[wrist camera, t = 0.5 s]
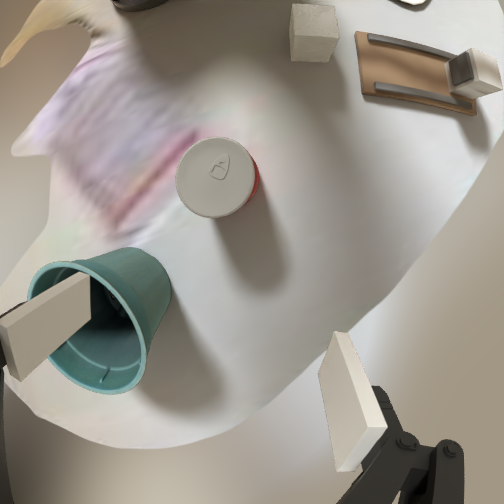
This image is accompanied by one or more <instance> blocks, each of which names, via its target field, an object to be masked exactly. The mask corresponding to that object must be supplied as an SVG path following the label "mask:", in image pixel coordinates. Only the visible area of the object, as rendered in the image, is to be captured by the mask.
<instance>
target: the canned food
mask: <svg viewBox="0 0 504 504" xmlns="http://www.w3.org/2000/svg"><path fill="white" fill-rule="evenodd" d="M258 182H259V171H258V167H257V165H256V163H255V161H254V160H253V158H252V157H251V155H250V154H249V153H248V151H247V150H246V149H245V148H244V147H243V146H242V145H241V144H239V143H238V142H236V141H234V140H232V139H229V138H225V137H209V138H206V139H202V140H200V141H198V142H197V143H195V144H193V145H192V146H191V147H190V148H189V149H188V150H187V151H186V152H185V153H184V155H183V156H182V158H181V160H180V162H179V164H178V167H177V171H176V188H177V192H178V194H179V197H180V199H181V201H182V202H183V203H184V205H185V206H186V207H187V208H188V209H189V210H190V211H192V212H193V213H195V214H197V215H199V216H202V217H207V218H221V217H224V216H228V215H230V214H232V213H234V212H235V211H237V210H238V209H240V208H241V207H242V206H243V205H244V204H246V203H247V202H248V201H249V200H250V199H251V197H252V196H253V195H254V193H255V192H256V189H257V187H258Z"/></svg>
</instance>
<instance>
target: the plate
mask: <svg viewBox="0 0 504 504" xmlns="http://www.w3.org/2000/svg"><path fill="white" fill-rule="evenodd" d="M400 1H402V2H405V3H408V4H411V5H418V4H423V3H424V2H425V0H400Z"/></svg>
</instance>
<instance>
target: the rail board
mask: <svg viewBox="0 0 504 504" xmlns="http://www.w3.org/2000/svg"><path fill="white" fill-rule="evenodd" d="M354 36H355V42H356V49H357V56H358V64H359V72H360V81H361V91H362V94H366V95H374V96H381V97H388V98H395V99H401V100H407V101H412V102H417V103H422V104H427V105H432V106H436V107H441V108H445V109H449V110H453V111H457V112H461V113H464V114H468V115H471V116H474V115H477V112H476V105H475V98H479V97H482V96H485V95H488V94H491V93H494V92H497V91H501V90H503V87H502V82H501V77H500V73H499V68H498V64H497V60H496V58H494V57H492V56H490V55H488V54H486V53H483V52H481V51H479V50H476V49H474V48H470V49H468V50H467V51H465V52H463V53H461V54H460V55H458V56H457V55H454V54H451V53H448V52H445V51H442V50H439V49H436V48H432V47H429V46H425V45H422V44H418V43H414V42H410V41H406V40H402V39H397V38H393V37H388V36H383V35H378V34H372V33H366V32H359V31H356V32H355V34H354Z"/></svg>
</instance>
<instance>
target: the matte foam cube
mask: <svg viewBox="0 0 504 504" xmlns="http://www.w3.org/2000/svg"><path fill="white" fill-rule="evenodd" d="M289 39H290V53H291V61H306V62H324V63H328V60H329V58H330V56H331V54H332V52H333V50H334V48H335V46H336V44H337V42H338V40H339V32H338V26H337V19H336V13H335V7H334V6H325V5H312V4H292V9H291V18H290V27H289Z"/></svg>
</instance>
